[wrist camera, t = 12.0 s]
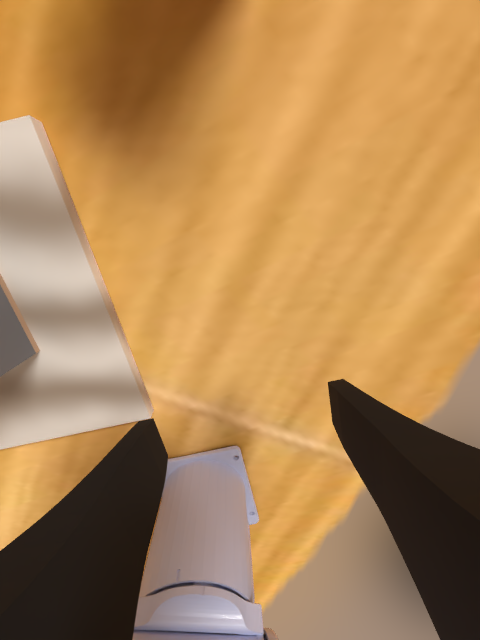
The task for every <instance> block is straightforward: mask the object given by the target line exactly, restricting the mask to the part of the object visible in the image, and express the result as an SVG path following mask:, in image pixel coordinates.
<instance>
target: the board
mask: <svg viewBox="0 0 480 640" xmlns="http://www.w3.org/2000/svg"><path fill="white" fill-rule="evenodd" d="M0 274H1V276H2V278H3V280H4V282H5V283H6V285H7V287H8V289H9V291H10V293H11V295H12V297H13V299H14V301H15V303H16V305H17V307H18V309H19V311H20V313H21V315H22V317H23V318H24V320H25V322H26V324H27V326H28V328H29V330H30V332H31V334H32V336H33V338H34V340H35V342H36V344H37V346H38V348H39V350H40V351H39V352H37V353H36V354H34V355H33V356H31V357H30V358H28V359H27V360H25V361H24V362H22V363H21V364H19V365H17V366H16V367H14V368H13V369H11V370H10V371H8V372H7V373H5V374H4V375H2V376H1V377H0V449H5V448H10V447H15V446H19V445H24V444H29V443H34V442H39V441H44V440H48V439H53V438H58V437H63V436H68V435H72V434H77V433H82V432H87V431H92V430H96V429H101V428H106V427H111V426H116V425H121V424H125V423H130V422H135V421H140V420H145V419H149V418H151V416H152V413H153V411H154V409H153V406H152V404H151V401H150V399H149V396H148V393H147V391H146V388H145V386H144V383H143V381H142V378H141V375H140V373H139V370H138V368H137V365H136V363H135V360H134V357H133V355H132V352H131V350H130V347H129V345H128V342H127V339H126V337H125V334H124V332H123V329H122V327H121V324H120V322H119V319H118V316H117V314H116V311H115V309H114V306H113V304H112V301H111V298H110V296H109V293H108V291H107V288H106V286H105V283H104V280H103V278H102V275H101V273H100V270H99V268H98V265H97V262H96V260H95V257H94V255H93V252H92V250H91V247H90V245H89V242H88V239H87V237H86V234H85V232H84V229H83V227H82V224H81V221H80V219H79V216H78V214H77V211H76V209H75V206H74V203H73V201H72V198H71V196H70V193H69V191H68V188H67V186H66V183H65V180H64V178H63V175H62V173H61V170H60V168H59V165H58V162H57V160H56V157H55V155H54V152H53V150H52V147H51V144H50V142H49V139H48V137H47V134H46V132H45V129H44V126H43V124H42V122H40V121H39V120H37V119H35V118H33V117H32V116H30V115H28V116H24V117H20V118H16V119H11V120H7V121H3V122H0Z"/></svg>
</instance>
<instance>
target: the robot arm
mask: <svg viewBox="0 0 480 640" xmlns="http://www.w3.org/2000/svg"><path fill="white" fill-rule="evenodd" d="M328 388H329V396H330V405H331V413H332V422H333V425H334V427H335V430H336V432H337V434H338V437H339V439H340V441H341V443H342V445H343V448H344V449H345V451H346V453H347V455H348V456H349V458H350V460H351V461H352V463H353V465H354V467H355V468H356V470H357V472H358V473H359V475H360V477H361V478H362V480H363V482H364V484H365V485H366V487H367V489H368V490H369V492H370V494H371V495H372V497H373V499H374V501H375V502H376V504H377V506H378V507H379V509H380V511H381V513H382V515H383V517H384V519H385V521H386V523H387V525H388V527H389V529H390V531H391V533H392V535H393V537H394V540H395V542H396V544H397V546H398V548H399V550H400V552H401V554H402V556H403V559H404V561H405V563H406V565H407V567H408V569H409V571H410V574H411V576H412V578H413V580H414V582H415V584H416V586H417V589H418V591H419V593H420V595H421V598H422V599H423V602H424V604H425V606H426V609H427V611H428V613H429V615H430V618H431V619H432V622H433V624H434V626H435V629H436V631H437V633H438V635H439V638H440V640H480V449H477V448H475V447H472V446H470V445H467V444H465V443H462V442H460V441H457V440H455V439H452V438H450V437H448V436H446V435H443V434H441V433H439V432H436V431H434V430H432V429H429V428H428V427H426V426H423V425H422V424H419V423H417V422H416V421H414V420H412V419H410V418H408V417H406V416H404V415H402V414H400V413H398V412H397V411H395V410H393V409H391V408H389V407H388V406H386V405H384V404H382V403H381V402H379V401H377V400H376V399H374V398H372V397H371V396H369V395H368V394H366V393H364V392H363V391H361V390H360V389H358V388H356V387H355V386H353V385H352V384H350V383H349V382H347V381H345V380H344V379H341V380H336V381H331V382H328ZM235 456H237V457H235ZM161 497H162V500H161ZM160 501H161V504H160ZM159 504H160V508H159ZM158 508H159V513H158V517H157V521H156V525H155V529H154V533H153V537H152V541H151V545H150V549H149V554H148V558H147V562H146V566H145V570H144V565H145V560H146V556H147V551H148V547H149V543H150V539H151V535H152V531H153V528H154V524H155V520H156V516H157V512H158ZM258 521H259V515H258V512H257V508H256V504H255V501H254V497H253V494H252V490H251V486H250V483H249V479H248V475H247V472H246V468H245V464H244V461H243V457H242V453H241V450H240V448H239V447H238V446H231V447H226V448H221V449H216V450H211V451H206V452H201V453H196V454H192V455H187V456H182V457H177V458H172V459H168V454H167V452H166V449H165V447H164V444H163V442H162V439H161V437H160V434H159V432H158V429H157V427H156V424H155V422H154V419H148V420H143V421H139V422H138V423H137V424H136V425H135V426H134V427H133V428H132V429H131V430H130V431H129V432H128V433H127V434H126V435H125V436H124V437H123V438H122V439H121V440H120V441H119V442H118V444H117V445H116V446H115V447H114V448H113V449H112V450H111V451H110V452H109V453H108V454H107V455H106V456H105V457H104V459H103V460H102V461H101V462H100V463H99V464H98V465H97V466H96V467H95V468H94V469H93V470H92V471H91V472H90V473H89V474H88V475H87V476H86V477H85V478H84V479H83V480H82V481H81V482H80V483H79V484H78V485H77V486H76V487H75V488H74V489H73V490H72V491H71V492H70V493H69V494H68V495H66V496H65V497H64V498H63V499H62V500H61V501H60V502H59V503H58V504H57V505H55V506H54V507H53V508H52V509H51V510H50V511H49V512H48V513H46V514H45V515H44V516H43V517H42V518H41V519H39V520H38V521H37V522H36V523H35V524H33V525H32V526H31V527H30V528H28V529H27V530H26V531H25V532H23V533H22V534H21V535H20V536H19V537H17V538H16V539H15V540H14V541H12V542H11V543H10V544H9V545H7V546H6V547H5V548H4V549H2V550H1V551H0V640H278V638H277V636H276V634H275V632H274V631H273V630H272V629H269V628H263V621H262V609H261V605H260V604H257V603H254V586H253V572H252V558H251V544H250V530H249V525H251V524H256V523H257V522H258ZM143 570H144V574H143ZM142 576H143V578H142Z"/></svg>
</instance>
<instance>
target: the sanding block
mask: <svg viewBox="0 0 480 640" xmlns="http://www.w3.org/2000/svg"><path fill="white" fill-rule="evenodd" d="M39 351H40V350H39V348H38V346H37V344H36V342H35V340H34V338H33V336H32V334H31V332H30V330H29V328H28V326H27V324H26V322H25V320H24V318H23V317H22V315H21V313H20V311H19V309H18V307H17V305H16V303H15V301H14V299H13V297H12V295H11V293H10V291H9V289H8V287H7V285H6V283H5V282H4V280H3V278H2V276H1V274H0V377H1V376H2V375H4V374H5V373H7V372H8V371H10V370H11V369H13V368H14V367H16V366H17V365H19V364H21V363H22V362H24V361H25V360H27V359H28V358H30V357H31V356H33V355H34V354H36V353H37V352H39Z"/></svg>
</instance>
